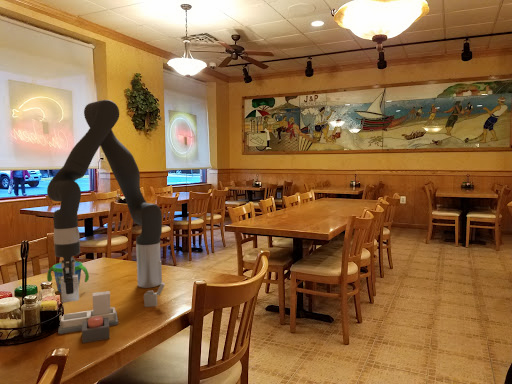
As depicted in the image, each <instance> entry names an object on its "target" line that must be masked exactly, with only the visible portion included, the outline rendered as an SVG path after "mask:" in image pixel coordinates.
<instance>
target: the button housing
mask: <svg viewBox="0 0 512 384" xmlns="http://www.w3.org/2000/svg"><path fill="white" fill-rule="evenodd" d="M81 338H82V339H81V340H82V344H85V343H92V342H97V341H103V340H109V339H110V326H109V320H108V318H103V326H100V327H93V328H88V321H83V325H82V330H81Z"/></svg>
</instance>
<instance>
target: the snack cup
mask: <svg viewBox="0 0 512 384" xmlns="http://www.w3.org/2000/svg"><path fill="white" fill-rule="evenodd" d="M82 271H83V273H84V275H85V276H84V282H85V283H87V282H88V281H89V279H90V275H89V272H88V269H87V268H86V266H84V265H83V262H80V261H76V260H75V274H74V275H77V274H78V286H79V287H80V284H81V275H82ZM52 272H53V274H54V280H55V283H56V284H55V285H56V289H57V291H58V292H59V293H61V280H60V279H61V276H63V270H62V267H61V262H58V263H56V264H54V265H52V266H51V267H50V268H49V269H48V271H47V274H46V275H47V276H46V280H47V281H48V282H52V280H53V276H52Z"/></svg>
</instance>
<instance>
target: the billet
mask: <svg viewBox="0 0 512 384" xmlns="http://www.w3.org/2000/svg"><path fill="white" fill-rule="evenodd" d="M70 278H71V277H67V278H66V279H70ZM60 280H61V292H60V294H61V303H62V304H63V303H70V302H77V301H79V300H80V292H79V291H80V289H79V288H80V285H79V286H78V274H77V275H73V280H74V281H73V290H74V292H73V294H66V284H65V283H64V276H61V279H60Z"/></svg>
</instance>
